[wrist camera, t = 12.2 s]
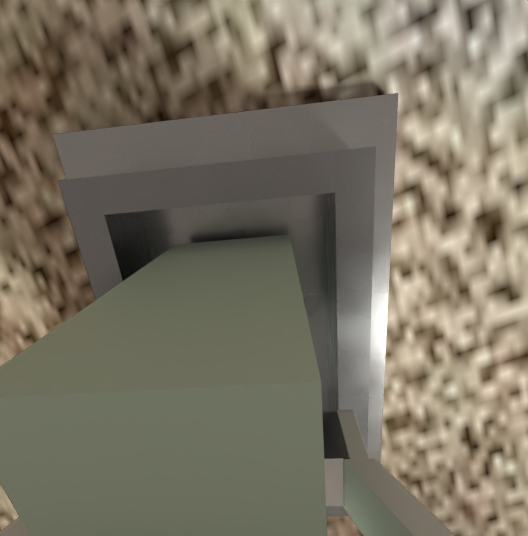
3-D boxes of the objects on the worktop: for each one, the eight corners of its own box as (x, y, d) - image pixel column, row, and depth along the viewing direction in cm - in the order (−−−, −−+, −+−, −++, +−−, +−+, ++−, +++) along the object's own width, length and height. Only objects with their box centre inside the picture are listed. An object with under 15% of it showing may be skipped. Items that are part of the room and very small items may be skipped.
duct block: (289, 234, 11) (321, 381, 3) (304, 446, 14) (336, 760, 7) (175, 244, 11) (-48, 399, 3) (217, 449, 14) (152, 752, 7)
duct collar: (374, 471, 17) (396, 539, 14) (167, 477, 18) (144, 541, 15) (389, 98, 11) (437, 67, 7) (67, 137, 11) (-11, 123, 8)
